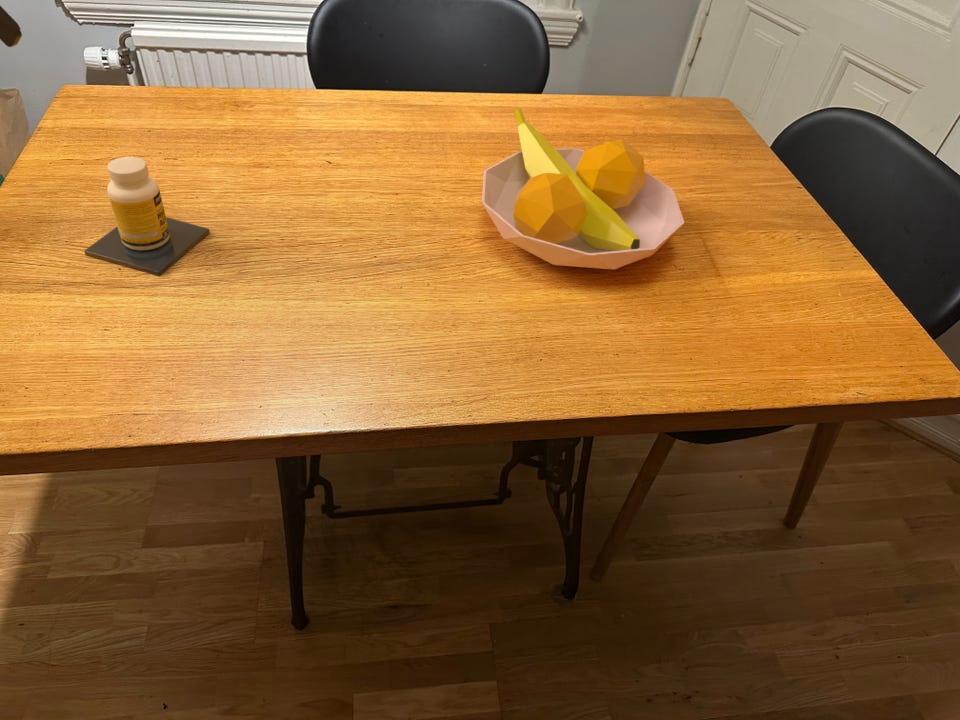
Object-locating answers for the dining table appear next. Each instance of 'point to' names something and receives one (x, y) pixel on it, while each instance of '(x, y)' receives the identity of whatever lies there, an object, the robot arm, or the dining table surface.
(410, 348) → the dining table surface
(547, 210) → the fruit bowl
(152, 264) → the coaster
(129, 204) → the supplement bottle
